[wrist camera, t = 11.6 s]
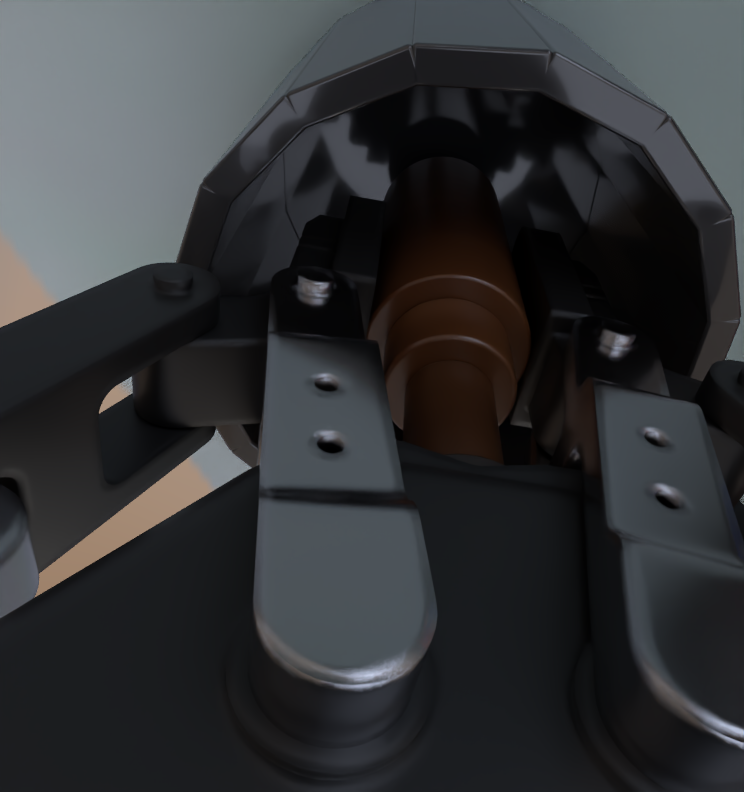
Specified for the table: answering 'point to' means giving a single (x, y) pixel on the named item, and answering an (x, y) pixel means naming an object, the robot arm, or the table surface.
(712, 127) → the table surface
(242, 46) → the table surface
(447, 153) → the mug
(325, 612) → the robot arm
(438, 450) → the bat
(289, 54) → the table surface
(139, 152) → the table surface
